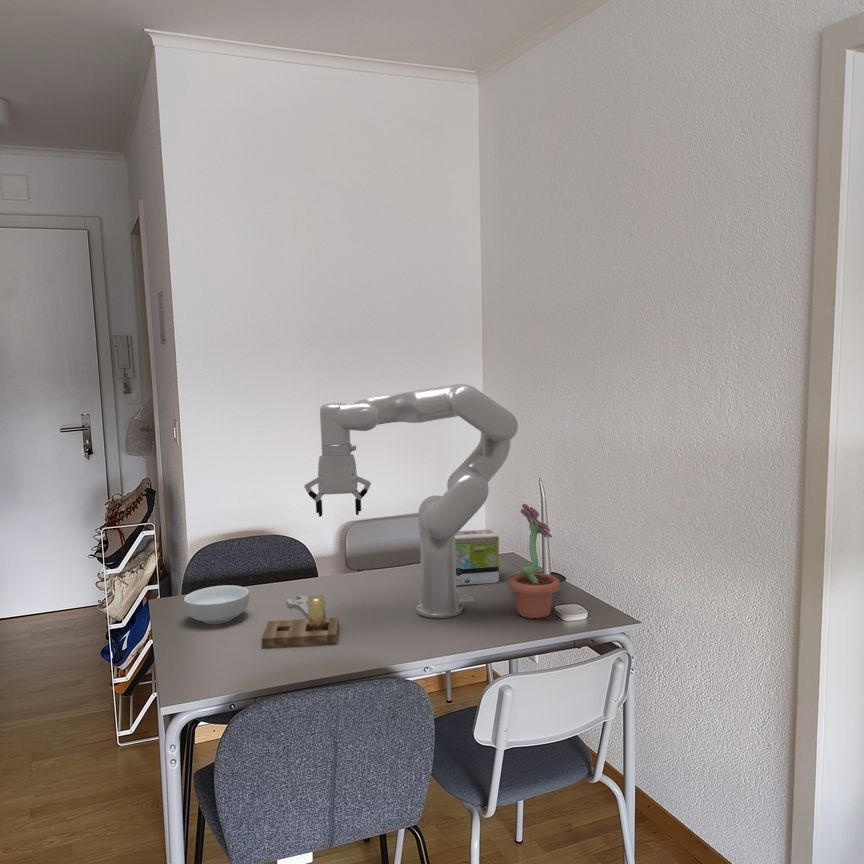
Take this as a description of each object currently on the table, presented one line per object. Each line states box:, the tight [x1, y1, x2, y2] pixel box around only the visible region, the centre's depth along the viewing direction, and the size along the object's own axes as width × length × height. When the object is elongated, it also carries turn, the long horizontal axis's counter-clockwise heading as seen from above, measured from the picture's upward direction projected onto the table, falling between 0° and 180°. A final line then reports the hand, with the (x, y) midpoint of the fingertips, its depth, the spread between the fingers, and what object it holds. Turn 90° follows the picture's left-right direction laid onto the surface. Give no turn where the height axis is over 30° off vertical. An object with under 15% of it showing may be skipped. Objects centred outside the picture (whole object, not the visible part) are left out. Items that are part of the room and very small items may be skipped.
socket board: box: [261, 617, 340, 649], centre depth 195 cm, size 18×12×2 cm, turn 94°
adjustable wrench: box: [286, 595, 309, 619], centre depth 212 cm, size 25×6×2 cm, turn 22°
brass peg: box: [307, 594, 327, 631], centre depth 195 cm, size 4×4×10 cm
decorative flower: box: [507, 503, 562, 619], centre depth 205 cm, size 15×14×30 cm
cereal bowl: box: [183, 584, 250, 625], centre depth 210 cm, size 17×17×7 cm
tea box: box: [455, 529, 500, 586], centre depth 237 cm, size 15×10×15 cm, turn 102°
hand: (339, 514), depth 205 cm, fingers open, 9 cm apart
